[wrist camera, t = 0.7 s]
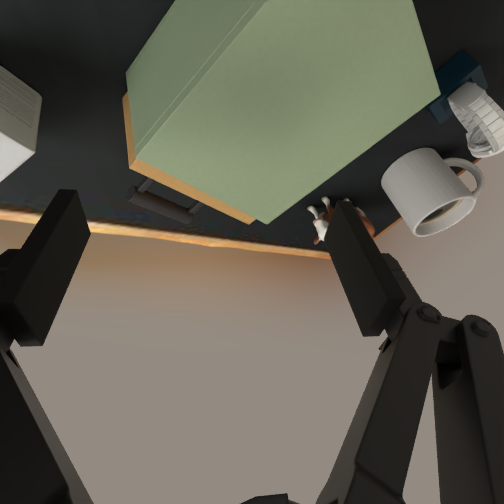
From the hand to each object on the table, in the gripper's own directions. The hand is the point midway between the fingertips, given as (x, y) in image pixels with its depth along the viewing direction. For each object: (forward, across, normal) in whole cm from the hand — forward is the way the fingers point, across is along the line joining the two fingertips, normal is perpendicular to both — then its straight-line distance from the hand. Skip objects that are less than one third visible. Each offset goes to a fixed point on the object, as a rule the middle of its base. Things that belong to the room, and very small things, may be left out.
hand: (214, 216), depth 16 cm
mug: (+29, +32, -11) cm, 44 cm away
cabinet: (+19, +4, +4) cm, 20 cm away
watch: (+25, +27, +2) cm, 37 cm away
